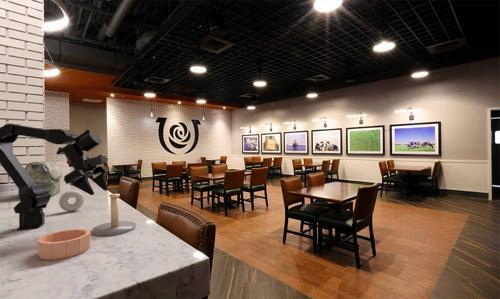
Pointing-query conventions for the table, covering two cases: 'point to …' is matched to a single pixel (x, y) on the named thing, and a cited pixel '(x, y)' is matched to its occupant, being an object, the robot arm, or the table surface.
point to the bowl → (64, 244)
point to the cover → (114, 222)
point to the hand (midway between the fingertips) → (100, 192)
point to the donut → (73, 193)
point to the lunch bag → (45, 175)
